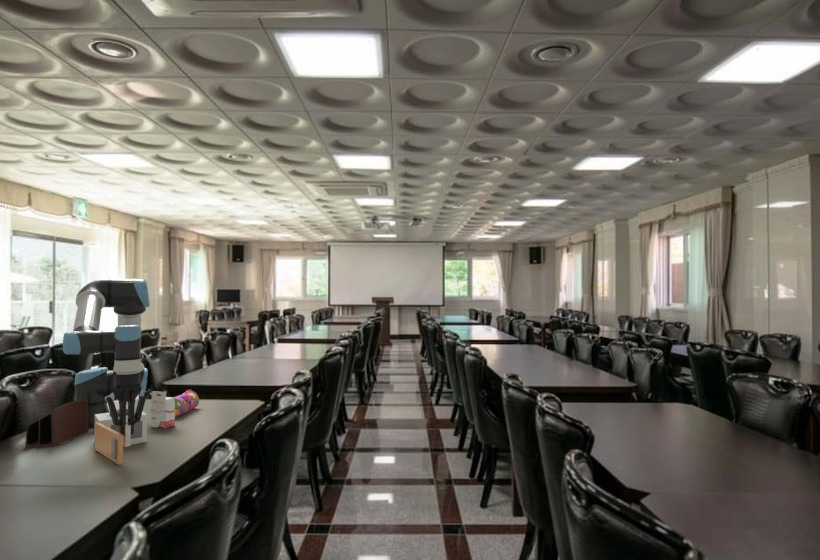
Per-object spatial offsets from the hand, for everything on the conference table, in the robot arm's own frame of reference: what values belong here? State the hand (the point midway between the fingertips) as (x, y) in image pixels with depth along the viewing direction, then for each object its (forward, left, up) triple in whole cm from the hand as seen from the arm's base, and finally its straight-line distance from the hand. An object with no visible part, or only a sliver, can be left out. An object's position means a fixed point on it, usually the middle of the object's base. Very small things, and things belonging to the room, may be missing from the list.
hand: (126, 445), depth 160 cm
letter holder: (-45, -15, -5) cm, 48 cm away
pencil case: (-62, +32, -5) cm, 70 cm away
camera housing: (-26, +2, -5) cm, 27 cm away
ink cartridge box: (-41, +20, -5) cm, 46 cm away
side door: (-8, -5, -4) cm, 10 cm away
